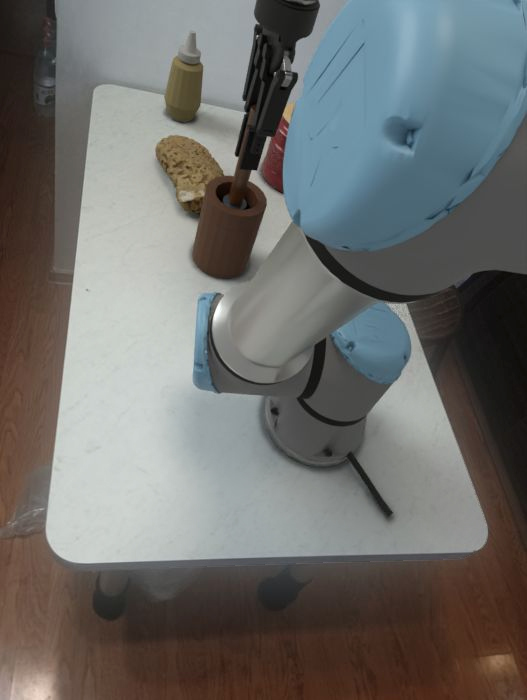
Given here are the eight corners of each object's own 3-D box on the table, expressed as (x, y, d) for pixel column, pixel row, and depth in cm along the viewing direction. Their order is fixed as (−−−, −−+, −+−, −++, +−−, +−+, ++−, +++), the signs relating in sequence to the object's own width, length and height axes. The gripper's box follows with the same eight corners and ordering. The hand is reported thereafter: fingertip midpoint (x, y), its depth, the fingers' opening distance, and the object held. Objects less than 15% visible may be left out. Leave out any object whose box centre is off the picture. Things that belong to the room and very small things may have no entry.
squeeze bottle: (192, 129, 119) (206, 47, 106) (157, 117, 119) (167, 32, 105) (202, 113, 125) (217, 31, 111) (168, 100, 124) (179, 17, 110)
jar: (257, 261, 99) (278, 200, 88) (224, 287, 93) (242, 225, 82) (215, 231, 101) (231, 168, 90) (180, 255, 95) (192, 190, 84)
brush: (228, 219, 93) (260, 99, 77) (243, 233, 92) (279, 114, 75) (211, 226, 91) (239, 103, 74) (226, 241, 90) (259, 119, 73)
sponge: (229, 224, 105) (218, 146, 113) (231, 198, 98) (220, 116, 106) (160, 227, 103) (155, 148, 111) (157, 200, 96) (152, 117, 104)
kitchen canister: (248, 166, 116) (270, 88, 103) (290, 155, 124) (316, 80, 110) (287, 203, 112) (315, 126, 99) (328, 189, 119) (360, 115, 106)
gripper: (247, -43, 66) (212, 130, 84) (278, 14, 58) (232, 193, 76) (302, -31, 69) (257, 134, 87) (340, 26, 61) (281, 196, 78)
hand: (245, 161), depth 81 cm, fingers closed on brush, 2 cm apart
